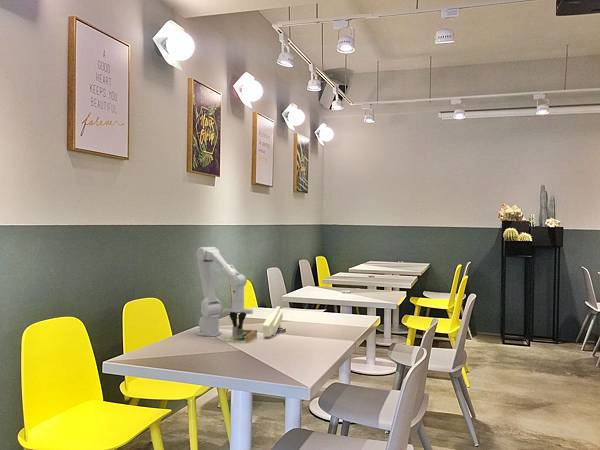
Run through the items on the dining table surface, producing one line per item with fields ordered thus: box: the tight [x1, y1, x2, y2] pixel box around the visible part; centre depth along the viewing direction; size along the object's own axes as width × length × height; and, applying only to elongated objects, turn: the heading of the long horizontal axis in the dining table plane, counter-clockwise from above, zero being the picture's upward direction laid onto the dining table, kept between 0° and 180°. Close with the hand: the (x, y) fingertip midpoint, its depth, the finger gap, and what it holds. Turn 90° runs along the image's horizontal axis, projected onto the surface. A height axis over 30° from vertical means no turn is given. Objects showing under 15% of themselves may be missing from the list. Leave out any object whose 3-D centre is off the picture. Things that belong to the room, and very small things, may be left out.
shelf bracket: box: [262, 305, 284, 338], centre depth 257 cm, size 6×25×13 cm, turn 168°
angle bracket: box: [231, 323, 248, 338], centre depth 241 cm, size 8×5×5 cm, turn 165°
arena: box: [223, 328, 258, 344], centre depth 243 cm, size 12×12×4 cm
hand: (237, 328), depth 242 cm, fingers closed on angle bracket
